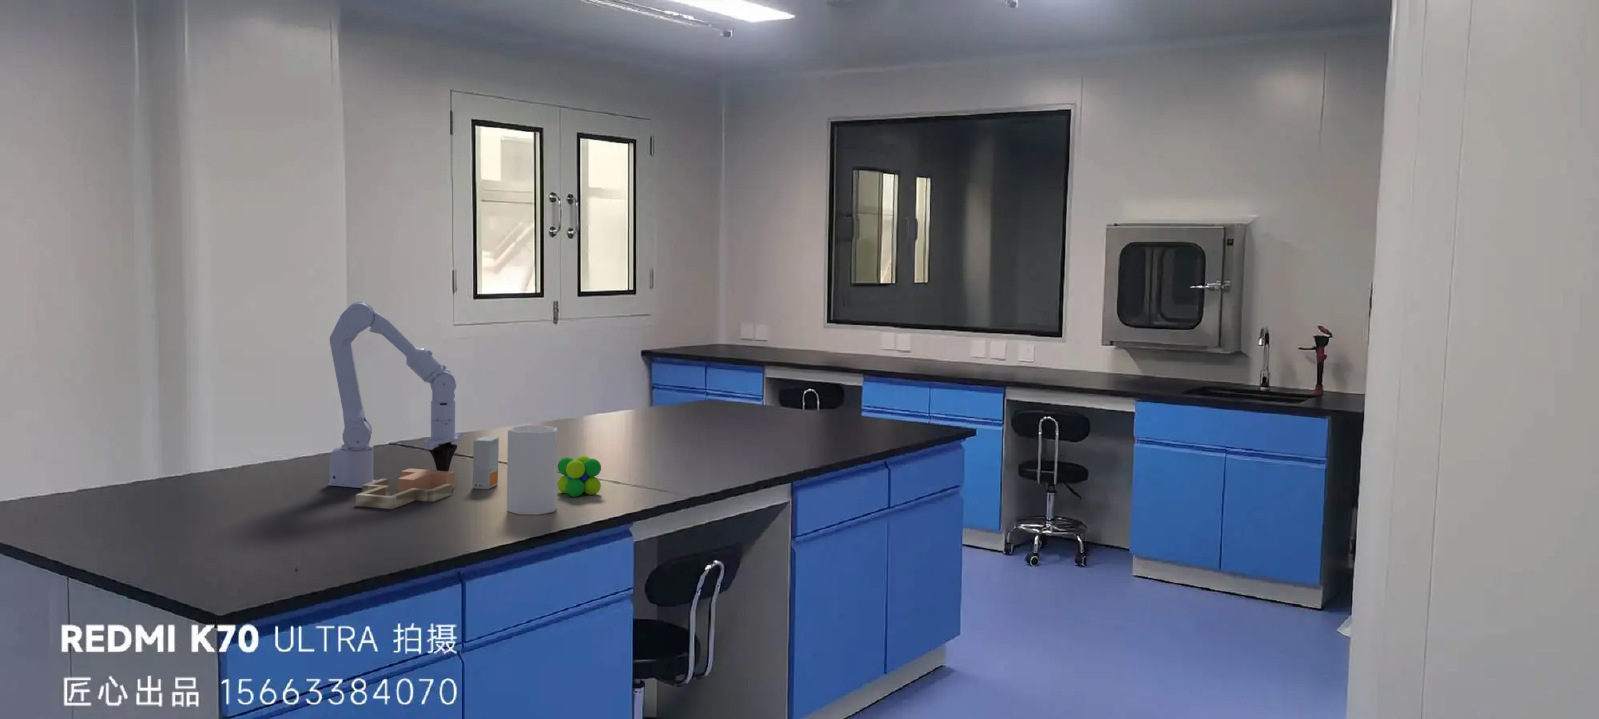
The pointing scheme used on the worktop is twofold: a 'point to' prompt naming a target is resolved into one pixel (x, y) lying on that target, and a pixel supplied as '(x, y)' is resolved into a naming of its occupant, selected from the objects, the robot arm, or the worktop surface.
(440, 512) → the worktop surface
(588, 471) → the molecule model
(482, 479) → the skincare box
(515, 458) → the cup
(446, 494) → the nest
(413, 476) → the tee
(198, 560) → the worktop surface
